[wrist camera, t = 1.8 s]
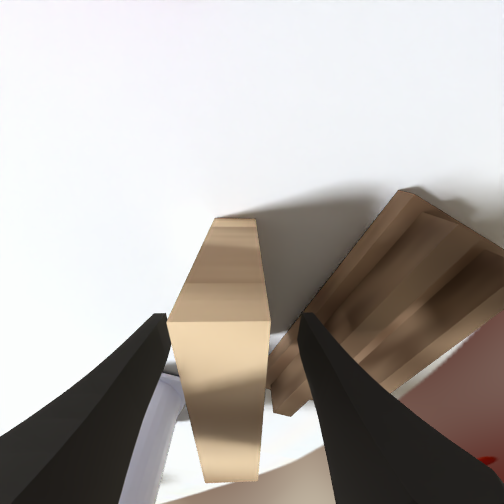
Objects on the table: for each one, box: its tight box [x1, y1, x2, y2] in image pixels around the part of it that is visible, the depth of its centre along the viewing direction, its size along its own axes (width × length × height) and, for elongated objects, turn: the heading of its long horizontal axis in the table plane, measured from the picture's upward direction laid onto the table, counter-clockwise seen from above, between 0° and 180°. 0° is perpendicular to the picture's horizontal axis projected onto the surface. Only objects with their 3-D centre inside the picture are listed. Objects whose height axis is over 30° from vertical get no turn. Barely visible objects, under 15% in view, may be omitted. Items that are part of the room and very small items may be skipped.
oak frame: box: [166, 218, 271, 483], centre depth 10 cm, size 10×2×8 cm, turn 179°
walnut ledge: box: [265, 190, 504, 417], centre depth 14 cm, size 18×9×3 cm, turn 154°
